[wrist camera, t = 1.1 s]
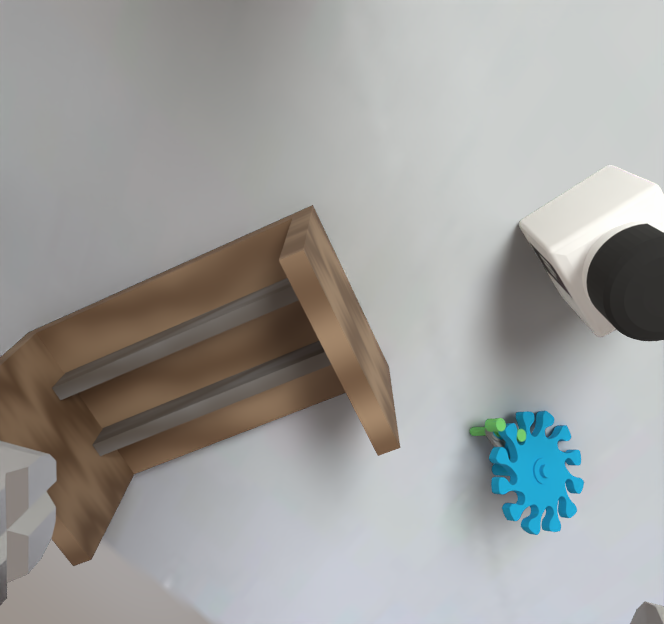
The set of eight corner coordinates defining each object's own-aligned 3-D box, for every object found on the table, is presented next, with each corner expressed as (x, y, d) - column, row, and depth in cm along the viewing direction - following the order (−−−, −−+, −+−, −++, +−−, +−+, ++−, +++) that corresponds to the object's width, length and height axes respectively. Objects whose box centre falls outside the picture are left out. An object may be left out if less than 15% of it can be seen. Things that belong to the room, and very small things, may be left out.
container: (562, 299, 49) (633, 378, 37) (515, 221, 47) (574, 279, 35) (654, 245, 47) (758, 311, 35) (609, 161, 45) (706, 201, 33)
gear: (605, 472, 54) (553, 563, 49) (551, 470, 59) (499, 553, 54) (535, 374, 52) (473, 459, 47) (486, 381, 57) (425, 459, 52)
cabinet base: (28, 332, 51) (-55, 405, 41) (312, 205, 47) (303, 249, 36) (124, 469, 56) (73, 566, 46) (388, 366, 52) (400, 447, 41)
